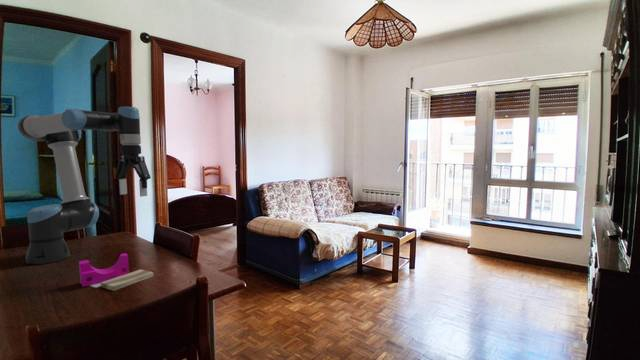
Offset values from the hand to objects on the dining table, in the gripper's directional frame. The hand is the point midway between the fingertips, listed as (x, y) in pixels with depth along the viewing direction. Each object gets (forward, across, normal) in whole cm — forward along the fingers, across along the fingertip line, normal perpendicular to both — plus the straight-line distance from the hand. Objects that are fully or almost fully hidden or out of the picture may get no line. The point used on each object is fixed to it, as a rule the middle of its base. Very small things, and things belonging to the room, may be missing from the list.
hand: (133, 195), depth 143 cm
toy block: (+29, +9, -18) cm, 35 cm away
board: (+29, +18, -16) cm, 37 cm away
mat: (+29, +9, -18) cm, 35 cm away
